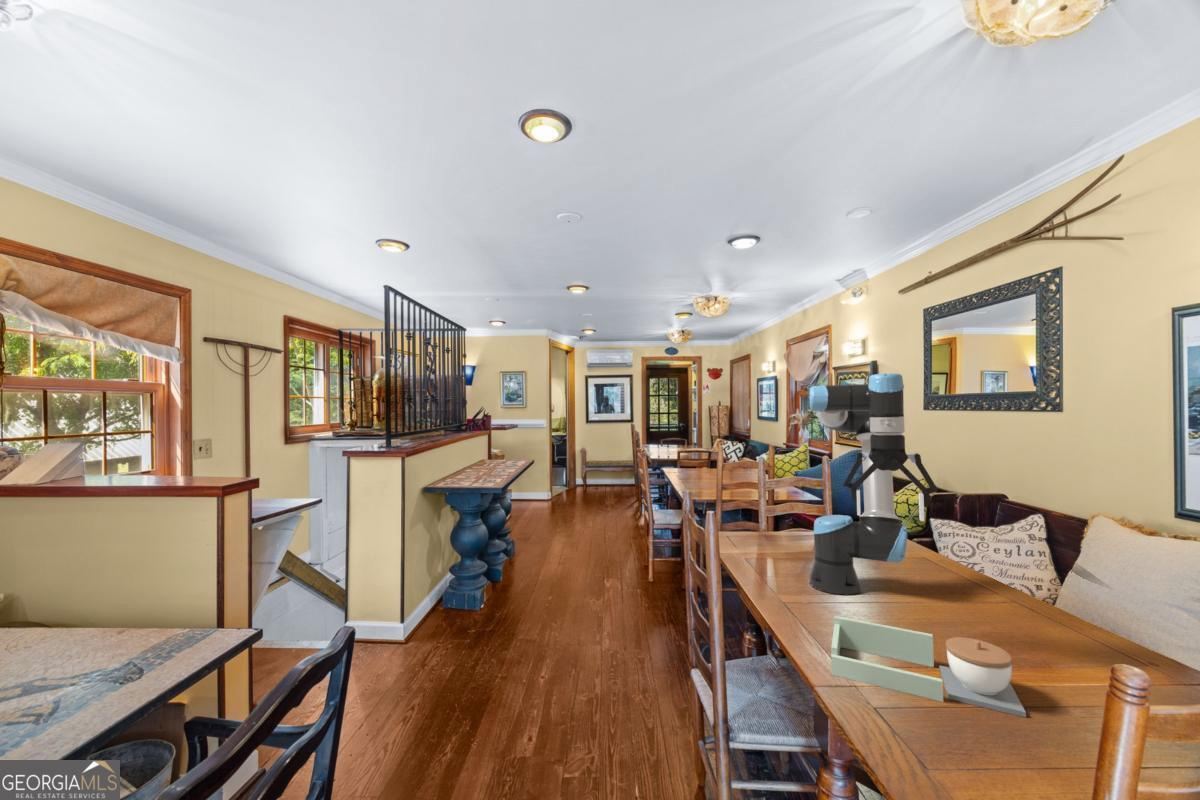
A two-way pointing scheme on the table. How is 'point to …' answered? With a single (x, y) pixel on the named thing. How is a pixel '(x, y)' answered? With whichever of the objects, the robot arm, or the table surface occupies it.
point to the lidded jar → (979, 665)
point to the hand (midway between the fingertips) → (889, 517)
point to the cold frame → (888, 645)
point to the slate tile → (999, 702)
